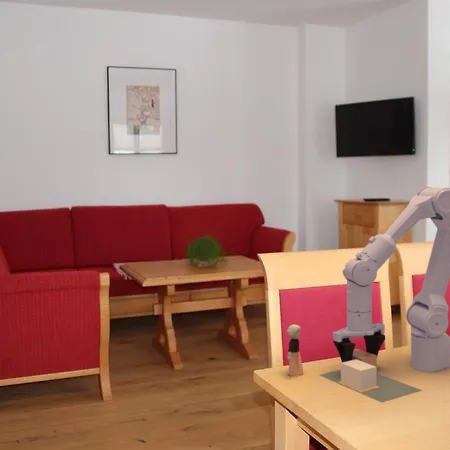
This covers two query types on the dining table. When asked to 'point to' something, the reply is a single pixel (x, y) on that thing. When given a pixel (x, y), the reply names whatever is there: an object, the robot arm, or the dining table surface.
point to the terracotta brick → (365, 357)
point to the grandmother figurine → (294, 351)
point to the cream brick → (358, 375)
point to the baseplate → (378, 387)
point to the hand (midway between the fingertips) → (359, 366)
